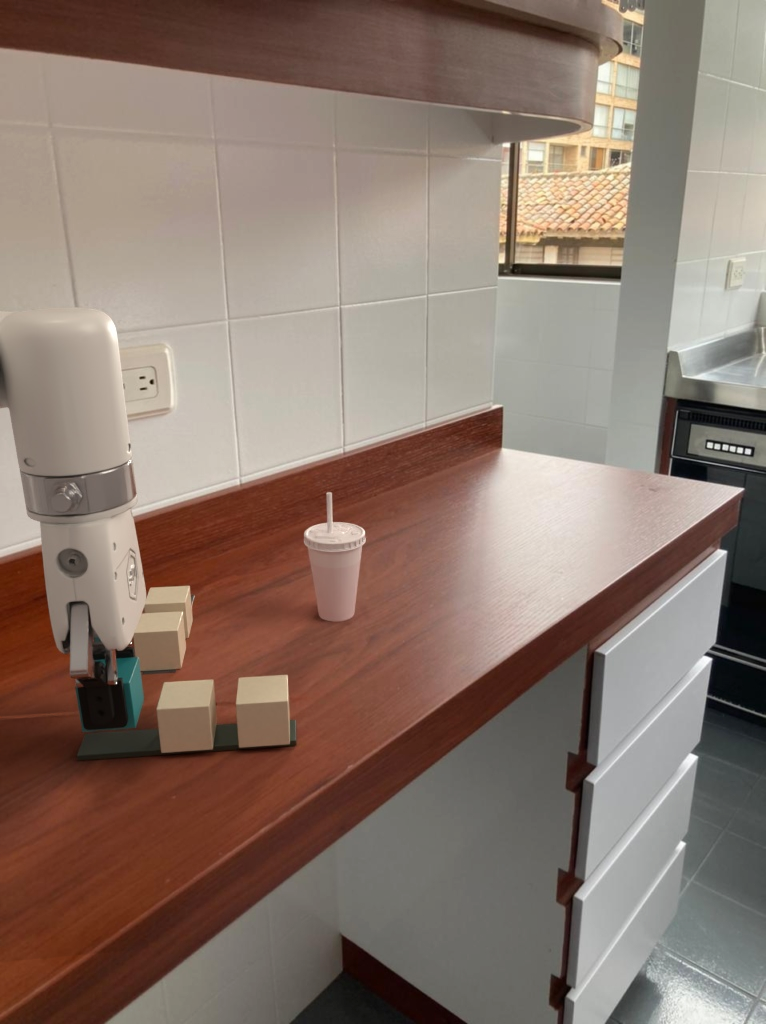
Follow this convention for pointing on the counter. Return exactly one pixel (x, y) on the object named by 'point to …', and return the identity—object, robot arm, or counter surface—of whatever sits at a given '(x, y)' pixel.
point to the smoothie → (335, 565)
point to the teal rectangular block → (126, 690)
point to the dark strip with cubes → (204, 722)
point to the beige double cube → (164, 629)
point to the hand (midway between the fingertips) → (112, 707)
